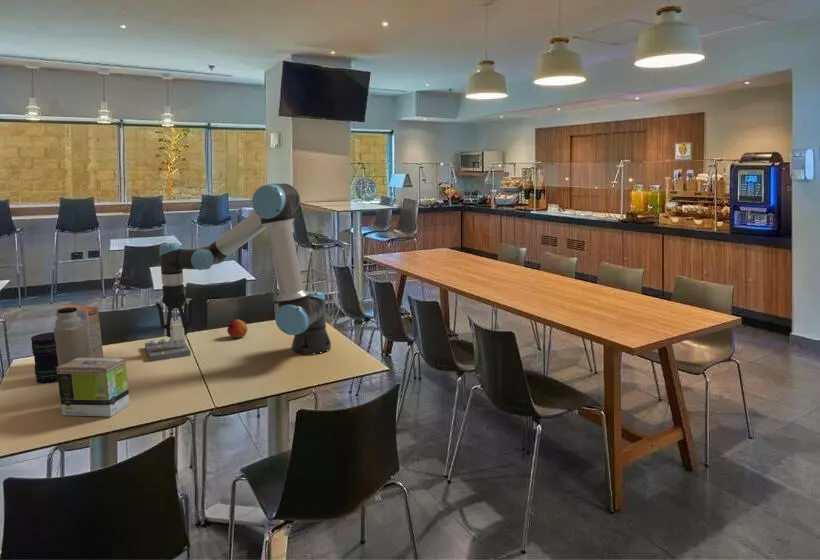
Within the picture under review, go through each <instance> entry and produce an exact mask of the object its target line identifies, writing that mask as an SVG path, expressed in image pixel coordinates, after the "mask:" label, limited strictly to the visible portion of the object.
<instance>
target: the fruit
mask: <svg viewBox="0 0 820 560" xmlns="http://www.w3.org/2000/svg"><path fill="white" fill-rule="evenodd" d="M227 326H228V327H227V329H226V331H227V334H228V335H229V336H230V337H232V338H235V339H241V338H244V337H245V336H246V335H247V332H248V326H247V324H246V323H245V321H243V320H240V319H238V318H237V319H233V320H232V321H230V322H229V324H228V325H227Z"/></svg>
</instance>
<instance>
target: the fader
mask: <svg viewBox="0 0 820 560" xmlns="http://www.w3.org/2000/svg"><path fill="white" fill-rule="evenodd" d="M182 326H183V324H182V320H174V321H173V320H171V323H170V328H172V333H173V340H176V347H177V348H178V347H180V339H183V327H182Z"/></svg>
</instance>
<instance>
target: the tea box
mask: <svg viewBox="0 0 820 560" xmlns="http://www.w3.org/2000/svg"><path fill="white" fill-rule="evenodd" d="M56 368H57V376H58V382H57V383H58V384H57V385H58V391H59V393H58V394H59V400H60V407H61V413H62V416H71V417H72V416H73V417H74V416H78V417H81V416H82V417H108V418H110V417H112V416H115V415H116V414H118V413H119V412H121V411H122V410H123V409H125V408H127V407H128V406H130V391H129V381H128V373H127V371H128V370H127V365H126V358H125V357H103V358H97V357H96V358H95V357H79V358H76V359H74V360H72V361H70V362H67V363H65V364H63V365H61V366H58V367H56Z"/></svg>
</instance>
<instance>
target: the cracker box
mask: <svg viewBox="0 0 820 560" xmlns="http://www.w3.org/2000/svg"><path fill="white" fill-rule="evenodd" d="M68 307H75V308H77V311H76V312H77V317H80V318H81V320H82V321H81V324H83V325H84V328H85V337H86V347H87V356H88V357H95V358H96V357H97V358H104V351H103V341H102V333H101V320H100V313H99V307H94V306H93V307H92V306H82V305H81V306H79V305H70V304H69V305H65V306H60V307H57V308H56V315H57V319H59V317H58V314H59V313H58V310H59V309H62V308H68Z"/></svg>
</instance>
